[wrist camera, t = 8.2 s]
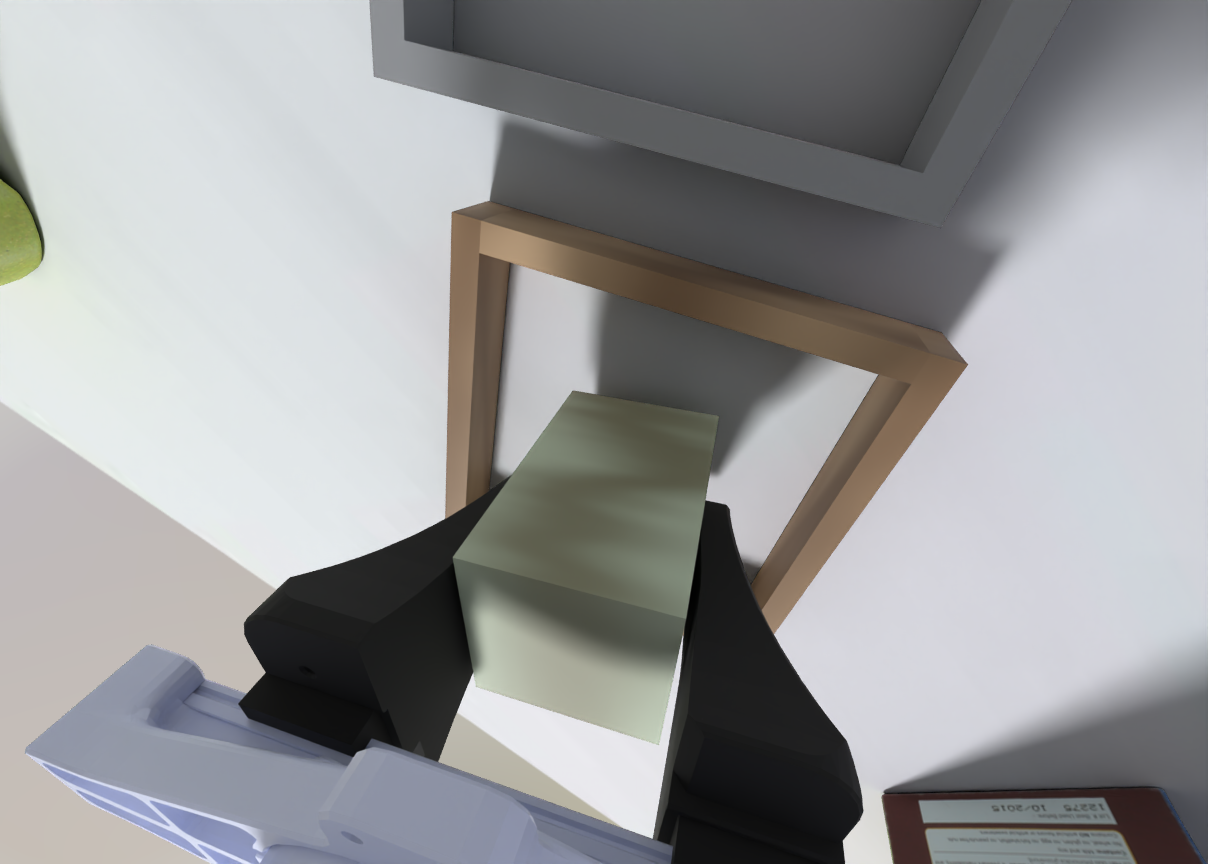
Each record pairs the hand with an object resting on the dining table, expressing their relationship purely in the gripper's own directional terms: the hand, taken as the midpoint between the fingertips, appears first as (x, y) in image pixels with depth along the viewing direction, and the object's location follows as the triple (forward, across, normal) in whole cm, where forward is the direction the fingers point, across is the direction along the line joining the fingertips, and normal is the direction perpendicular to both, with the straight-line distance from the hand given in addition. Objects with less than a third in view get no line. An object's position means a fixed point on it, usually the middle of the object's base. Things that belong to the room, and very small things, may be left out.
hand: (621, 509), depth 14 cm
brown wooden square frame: (+3, 0, 0) cm, 3 cm away
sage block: (+2, 0, 0) cm, 2 cm away
